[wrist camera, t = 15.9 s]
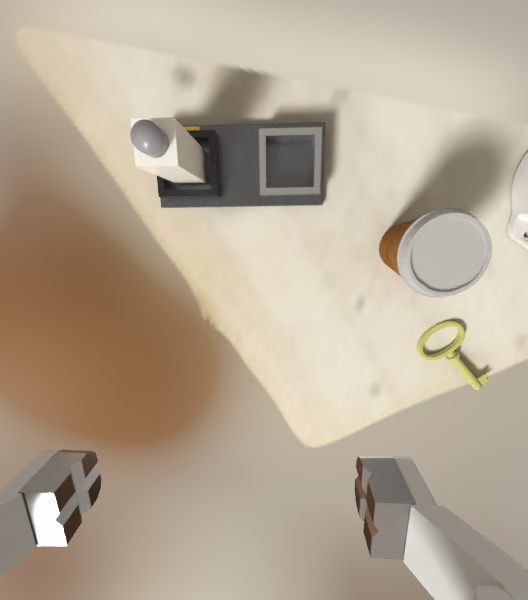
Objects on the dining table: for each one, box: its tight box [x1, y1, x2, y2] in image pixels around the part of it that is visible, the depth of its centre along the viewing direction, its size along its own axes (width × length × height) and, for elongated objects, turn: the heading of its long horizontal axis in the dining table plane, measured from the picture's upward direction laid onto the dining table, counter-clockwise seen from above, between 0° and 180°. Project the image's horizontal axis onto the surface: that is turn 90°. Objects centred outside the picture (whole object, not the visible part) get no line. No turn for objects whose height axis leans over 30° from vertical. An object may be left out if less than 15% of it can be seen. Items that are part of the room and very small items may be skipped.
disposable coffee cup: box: [379, 208, 492, 297], centre depth 37 cm, size 10×10×12 cm
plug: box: [131, 118, 208, 184], centre depth 33 cm, size 4×4×15 cm
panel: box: [157, 123, 325, 208], centre depth 39 cm, size 22×10×4 cm, turn 91°
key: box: [417, 320, 490, 390], centre depth 46 cm, size 7×12×2 cm, turn 59°
